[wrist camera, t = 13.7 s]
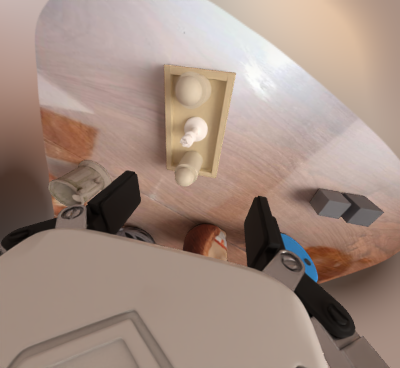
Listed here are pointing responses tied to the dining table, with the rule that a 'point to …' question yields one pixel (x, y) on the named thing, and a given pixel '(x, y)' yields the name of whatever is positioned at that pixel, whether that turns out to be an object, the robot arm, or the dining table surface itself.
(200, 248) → the figurine
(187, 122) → the chess piece
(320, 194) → the slate blocks
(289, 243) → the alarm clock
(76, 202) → the mug
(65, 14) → the dining table surface
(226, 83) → the pawn tray
